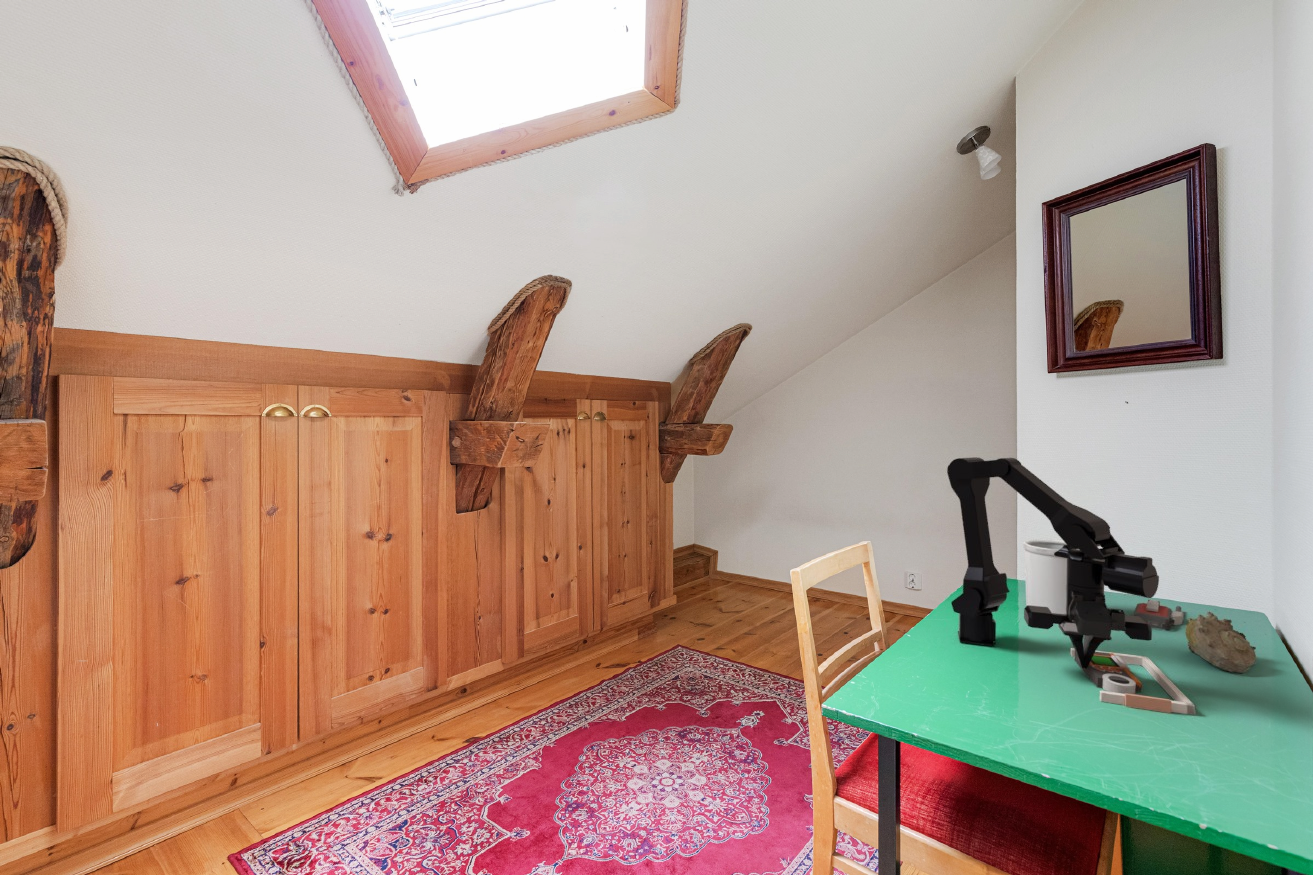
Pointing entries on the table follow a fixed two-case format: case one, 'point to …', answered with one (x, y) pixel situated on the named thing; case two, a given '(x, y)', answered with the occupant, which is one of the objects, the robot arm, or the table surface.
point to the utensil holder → (1045, 574)
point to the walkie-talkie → (1158, 615)
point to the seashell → (1220, 643)
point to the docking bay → (1146, 702)
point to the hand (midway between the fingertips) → (1083, 667)
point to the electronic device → (1111, 674)
